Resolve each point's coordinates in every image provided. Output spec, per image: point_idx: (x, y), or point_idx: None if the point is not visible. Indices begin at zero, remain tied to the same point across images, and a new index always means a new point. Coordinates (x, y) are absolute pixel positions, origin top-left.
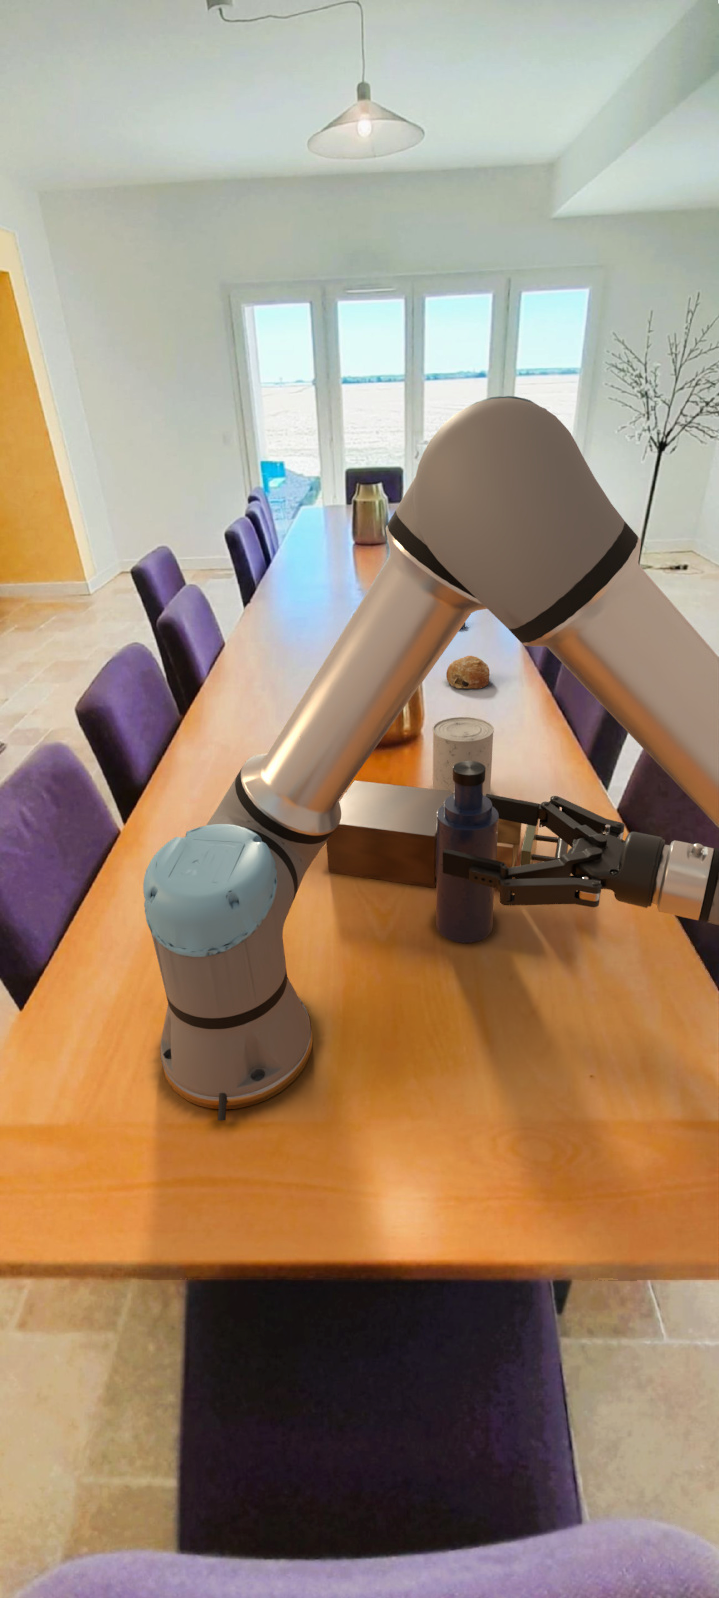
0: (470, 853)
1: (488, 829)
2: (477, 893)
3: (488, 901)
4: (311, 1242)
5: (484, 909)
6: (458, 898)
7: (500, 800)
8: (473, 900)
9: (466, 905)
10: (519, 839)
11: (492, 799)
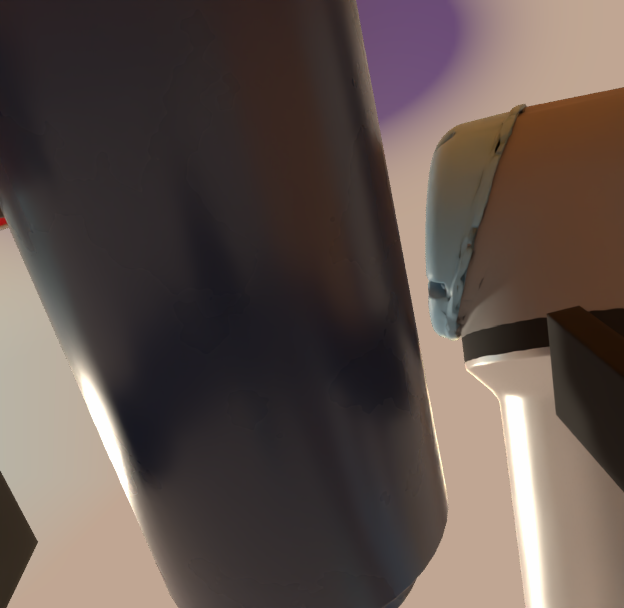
0: (424, 410)
1: (392, 585)
2: (337, 134)
3: (203, 21)
4: None
5: None
6: (369, 74)
7: (2, 606)
8: (344, 68)
9: (354, 19)
10: None
11: (18, 566)
